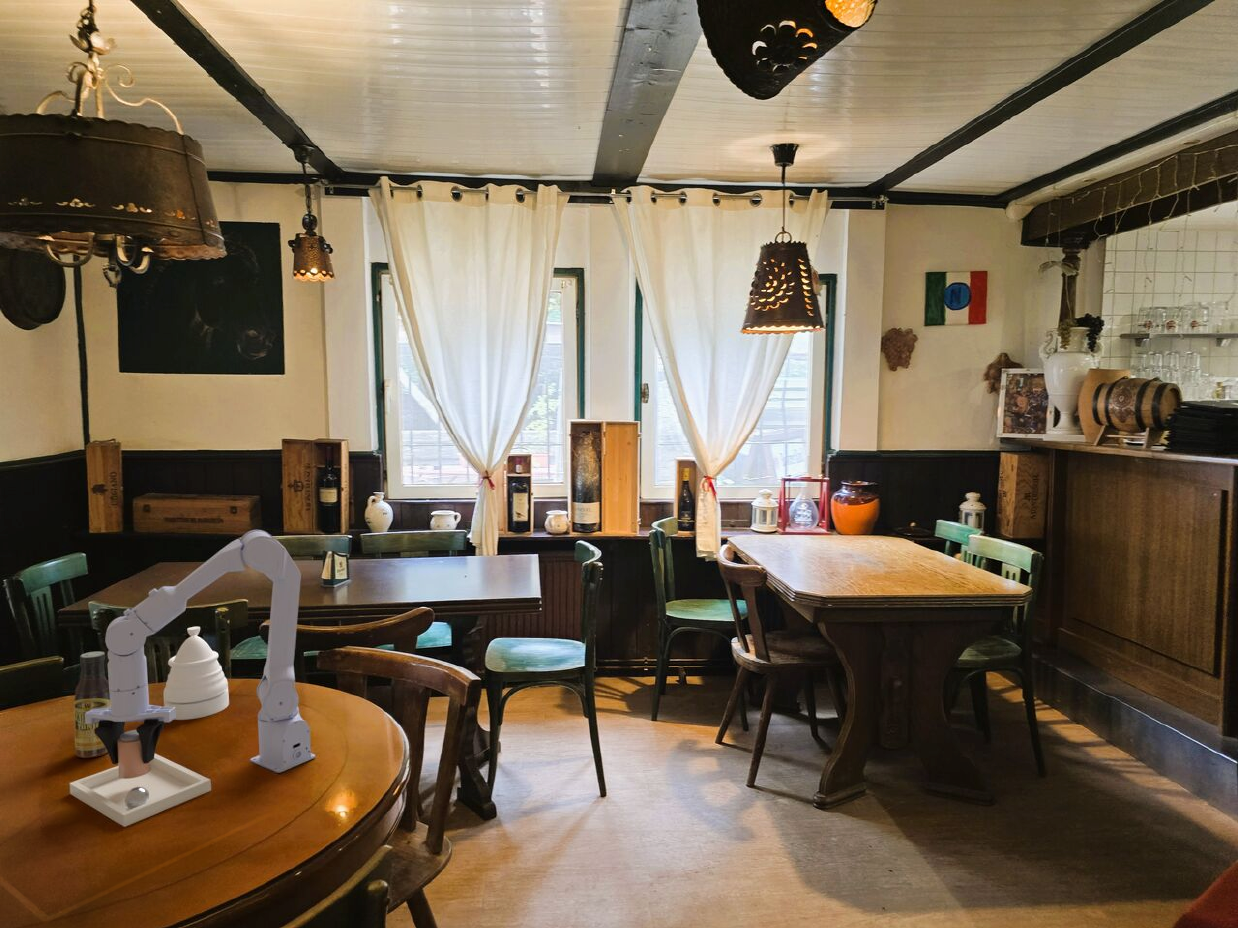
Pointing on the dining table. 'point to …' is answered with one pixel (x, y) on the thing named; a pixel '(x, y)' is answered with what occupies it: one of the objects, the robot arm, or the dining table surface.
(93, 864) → the dining table surface
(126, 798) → the mixing ball
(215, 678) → the honey pot
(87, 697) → the sauce bottle
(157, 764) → the dish
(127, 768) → the shaker
